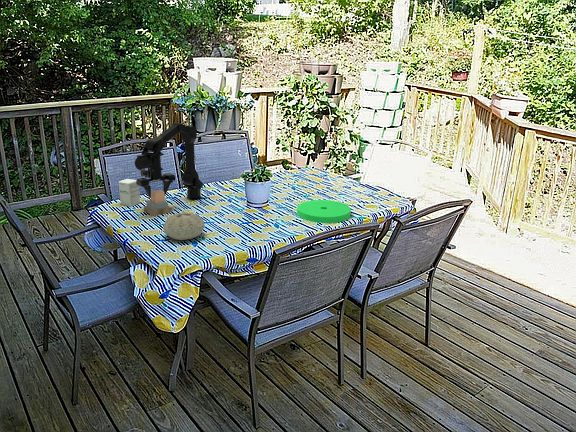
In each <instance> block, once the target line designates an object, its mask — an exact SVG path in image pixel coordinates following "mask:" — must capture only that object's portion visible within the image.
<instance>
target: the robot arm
mask: <svg viewBox="0 0 576 432" xmlns="http://www.w3.org/2000/svg"><path fill="white" fill-rule="evenodd" d="M178 134H180V138H181V140H182V142H183V143H184V145H183V146H184V160H185V164H184V165H185V170H184V172H181V177H182V179H181V180H182V183H183V185H184V186H185V187H186V188H187V190H186V194H187V195H186V198H187V199H189V200H191V201H196V200H200V199H203V196H202V195H201V189H202V188H203V186H204V183H203V182H202V180H200V177H199V176H200V175H199V173H198V171H197V170H196V162H195V161H196V157H195V142H196V140H197V138H198V137H197V135H198V130H197V128H196V126H193V125H187V124H186V125H185V124H184V123H180V122H173V123H172V125H171V126H169V127H168V128H167V129H165V130H164V131H162V132H161V133H160V134H158V135H157V136H155V137H151V138H148V139H147V140H146V141H145V145H144V146H143V148H142V151H141V155H140V154H138V155H137V156H136V159H135V160H134V166H135V168H136V169H137V170H139V171H140V176H141V177H139V178H137V179H136V180H137V181H136V184H137V185H139V187H143V188H144V190H145V193H146V194H147V197H148V198H149V199H151V191H152V190H151V189H152V186H151V185H150V183H155V182H160V181H162V185H163V186H162V187H163V191H164V195H165V196H166V194H167V192H168V190H169V188H170V185H171V184H172V183H173V181H176V176H175V174H174V173H172V172H171V173H170V172H167V173H166V172H165V173H163V172H162V171H163V170H164V168H163V167H162V161H161V160H162V158H161V157H162V156H164V153H163V152H162V150H163V149H164V148H165V144H167V143H168V142H169V141H170V140H171V139H172V138H174V137H175V136H176V135H178ZM146 169H147V170H146ZM162 173H163V174H162Z"/></svg>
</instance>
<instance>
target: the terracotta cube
mask: <svg viewBox="0 0 576 432" xmlns="http://www.w3.org/2000/svg"><path fill="white" fill-rule="evenodd" d="M165 196H166V195H164V190H162V189H156V190H151V198H150V200H151V201H152V202H154V203H160V202H164V201H166V198H165Z"/></svg>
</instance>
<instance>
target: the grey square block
mask: <svg viewBox="0 0 576 432" xmlns="http://www.w3.org/2000/svg"><path fill="white" fill-rule="evenodd" d="M145 204H146V205H145V206H147V207H148V208H150V209H151V210H159V209H164V208H168V206H169V205H168V204H169V202H168V201H167V200H165V201H164V202H160V203H154V202H152V201H151V199H147V200H145Z"/></svg>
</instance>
